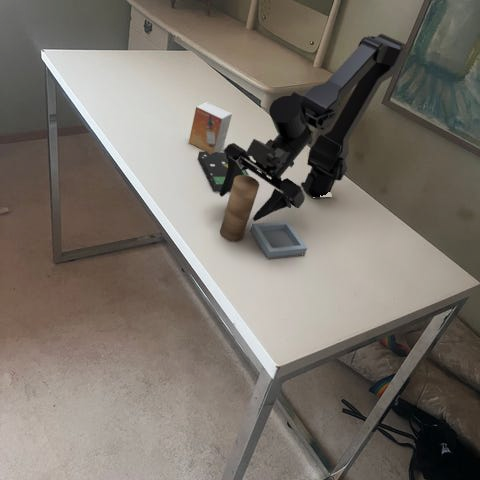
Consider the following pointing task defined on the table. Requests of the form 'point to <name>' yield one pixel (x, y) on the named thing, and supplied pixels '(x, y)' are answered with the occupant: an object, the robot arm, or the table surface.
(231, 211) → the walnut pin
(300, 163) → the table surface
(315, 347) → the table surface
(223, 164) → the disk drive
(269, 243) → the collar
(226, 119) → the small box
